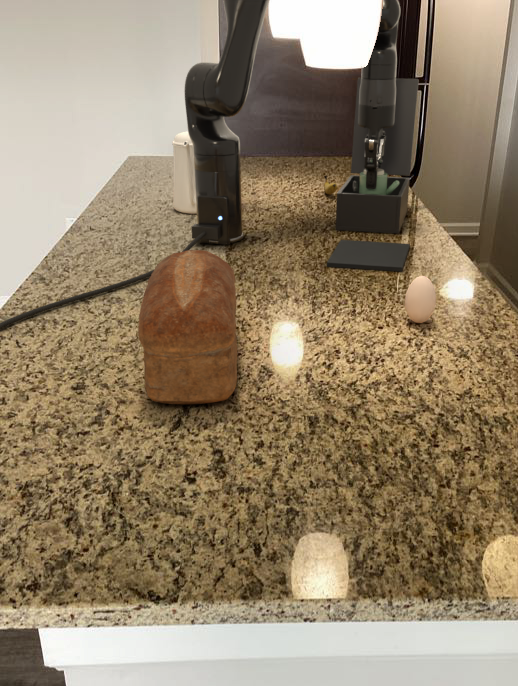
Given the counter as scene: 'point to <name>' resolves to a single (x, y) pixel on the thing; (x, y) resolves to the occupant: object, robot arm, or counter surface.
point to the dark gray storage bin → (372, 208)
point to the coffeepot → (184, 174)
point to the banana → (329, 187)
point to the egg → (420, 299)
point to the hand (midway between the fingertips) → (373, 185)
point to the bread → (189, 329)
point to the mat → (369, 255)
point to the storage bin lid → (391, 132)
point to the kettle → (381, 184)
